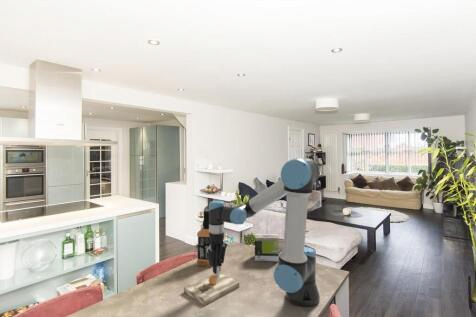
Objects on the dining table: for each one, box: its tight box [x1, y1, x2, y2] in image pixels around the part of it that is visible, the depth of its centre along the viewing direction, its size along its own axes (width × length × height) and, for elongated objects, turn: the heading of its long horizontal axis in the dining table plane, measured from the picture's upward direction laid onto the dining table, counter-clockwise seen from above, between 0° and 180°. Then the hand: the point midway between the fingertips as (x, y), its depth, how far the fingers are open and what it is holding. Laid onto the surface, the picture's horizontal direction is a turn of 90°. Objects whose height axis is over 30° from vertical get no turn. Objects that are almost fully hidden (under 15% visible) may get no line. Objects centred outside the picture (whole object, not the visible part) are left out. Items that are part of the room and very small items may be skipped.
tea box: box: [254, 233, 280, 262], centre depth 166 cm, size 15×10×15 cm, turn 84°
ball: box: [209, 275, 217, 284], centre depth 128 cm, size 4×4×4 cm
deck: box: [183, 272, 240, 306], centre depth 127 cm, size 16×22×2 cm
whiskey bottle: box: [196, 210, 213, 268], centre depth 158 cm, size 10×10×32 cm
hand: (216, 278), depth 130 cm, fingers closed
